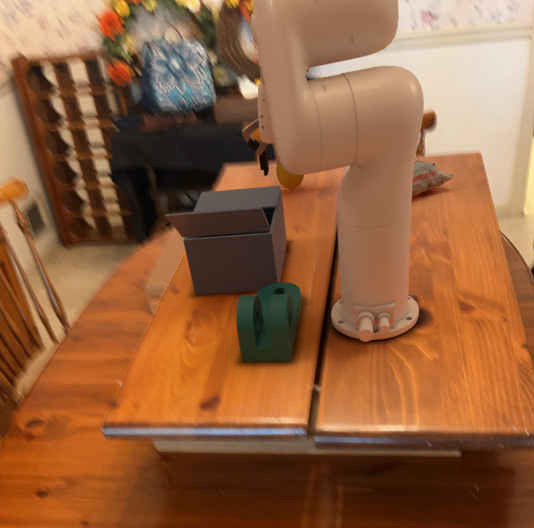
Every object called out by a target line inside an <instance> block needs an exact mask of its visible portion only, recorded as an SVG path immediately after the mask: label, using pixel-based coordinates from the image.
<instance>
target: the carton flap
mask: <svg viewBox="0 0 534 528" xmlns="http://www.w3.org/2000/svg"><path fill="white" fill-rule="evenodd" d="M165 218H166V219H167V220H168V221H169V223H170V224H171V225H172V226H173V228H174V229H175V230H176V231H177V232H178V234H179V236H181V238H184V237H196V236H209V235H222V234H235V233H248V232H262V231H271V229H270V226H269V224H268V221H267V219H266V216H265V214H264V212H263V209H262V207H261V206H260V207H248V208H236V209H223V210H211V211H199V212H193V211H190V212H189V211H187V212H177V213H176V212H175V213H165Z"/></svg>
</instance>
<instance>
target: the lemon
mask: <svg viewBox="0 0 534 528" xmlns="http://www.w3.org/2000/svg"><path fill="white" fill-rule="evenodd" d="M275 170H276V177H277V180H278V182H279V185H280V186H282V187H283V188H285V189H288V190H289V191H290V192H293V191H295V189H296V188H298V187H299V186H300V185H301V184H302V182H303V180H304V178H305V175H295V174H291V173H289V172H288V171H287V170H286V169H285V168H284V167H283V165H282V164H281V162H280V159H279V158H278V159H277V162H276V169H275Z"/></svg>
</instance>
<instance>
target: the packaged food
mask: <svg viewBox="0 0 534 528" xmlns="http://www.w3.org/2000/svg"><path fill="white" fill-rule="evenodd" d="M453 178H454V174H453V173H448V172H444V171H443V170H442V169H440V168H438V167H437V166H436V164H435V163H434V162H430V161H425V160H419V159H418V160H415V163H414V172H413V185H412V198H414V197H416V196H419V195H420V194H425V193H427V192H429V191H431V190H433V189H436V188H439V187H441V186H443V185H444V184H445V183H448V182H449V181H451V180H452V179H453Z"/></svg>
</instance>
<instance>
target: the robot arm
mask: <svg viewBox="0 0 534 528" xmlns="http://www.w3.org/2000/svg"><path fill="white" fill-rule="evenodd" d="M399 17H400V16H399V0H252V13H251V16H250V29H251V34H252V41H253V42H254V44H255V45H256V46H257V57H258V66H259V72H260V82H259V83H257V85H258V87H257V115H258V117H257V118H255V120H254V121H252V122H251V123H249V124H248V125H247V126H245V127H243V129H242V130H241V135H242V138H244V140H245V142H246V143H247V145H248V147H249V148H251V150H253V151H254V152H255V153H256V155H257V156H258V160H259V168H260V171H262V172H263V176H264V177H267V176H268V175H269V172H270V166H269V158H268V157H269V156H268V150H267V149H266V148H267V147H268V145H274V146H275V150H276V153H277V156H278V159H280V162H281V164H282V165H283V167H284V168H285V169H286V170H287V171H288V172H289V173H291V174H295V175H304V176H306V175H312V174H316V173H321V172H326V171H331V170H337V169H341V168H346V167H348V169H347V170H346V173H345V175H344V176H343V179H342V180H341V183H340V185H339V189H338V192H337V196H336V197H337V198H336V222H337V223H336V224H337V226H336V227H337V243H338V244H337V246H338V261H339V262H338V267H339V284H340V287H339V288H340V298H339V300H337V301H336V302H335V303H334V305H333V306H332V309H331V311H330V318H331V323H332V326H333V327H334V328H335V329H336V330H337V331H338V332H339V333H341V334H342V335H345V336H346V337H350V338H353V339H357V340H360V341H361V342H366V343H367V342H370V341H377V340H386V339H391V338H394V337H397V336H399V335H402V334H404V333H406V332H407V331H409V330H410V329H412V328H413V327H414V326H415V325H416V324H417V322H418V319H419V315H420V307H419V304H418V302H417V301H416V300H415V299H414V298H413V297H412V296H410V295H409V290H410V289H409V287H410V286H409V285H410V262H411V261H410V260H411V259H410V257H411V226H412V224H411V223H412V204H413V203H412V201H413V197H412V185H413V172H414V163H415V161H416V155H417V150H418V144H419V141H420V140H419V139H420V135H421V130H422V124H423V119H424V105H425V104H424V103H425V100H424V99H425V98H424V92H423V88H422V85H421V83H420V81H419V79H418V77H417V76H416V75H415V74H414V73H413V72H411V71H410V70H409V69H407V68H405V67H402V66H398V65H378V66H377V65H376V66H372V67H367V68H362V69H357V70H352V71H347V72H342V73H339V74H334V75H330V76H324V77H319V78H314V79H308V80H307V77H306V74H307V73H309V72H310V69H311V68H315V67H320V66H325V65H331V64H335V63H340V62H345V61H351V60H354V59H359V58H364V57H367V56H372V55H375V54H376V53H379V52H381V51H384V50H385V49H386V48H388V46H390V45H391V44H392V42H393V41H394V39H395V37H396V35H397V33H398V32H397V31H398V29H399V28H398V27H399ZM256 130H258V132H259V138H260V141H258V140H256V139H255V138H254V136H253V134H252V133H253V132H256Z"/></svg>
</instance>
